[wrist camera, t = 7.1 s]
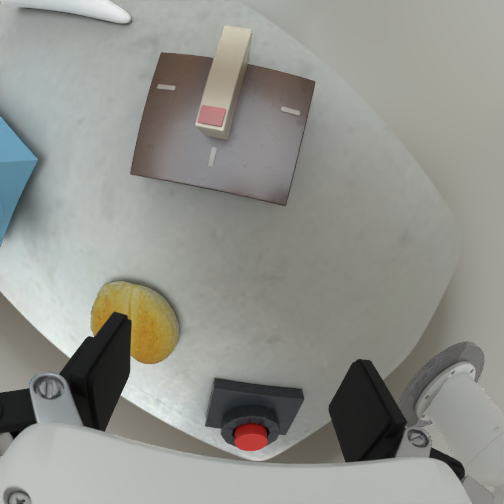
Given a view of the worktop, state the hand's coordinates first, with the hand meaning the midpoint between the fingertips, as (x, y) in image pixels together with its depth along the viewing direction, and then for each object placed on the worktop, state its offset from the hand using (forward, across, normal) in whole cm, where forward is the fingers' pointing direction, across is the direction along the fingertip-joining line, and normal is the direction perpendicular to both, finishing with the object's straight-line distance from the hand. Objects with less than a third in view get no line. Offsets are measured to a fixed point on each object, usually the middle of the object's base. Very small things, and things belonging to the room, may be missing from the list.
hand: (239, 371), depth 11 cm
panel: (+15, +4, -12) cm, 19 cm away
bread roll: (+15, +9, +9) cm, 20 cm away
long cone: (+15, +25, -22) cm, 37 cm away
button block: (+15, -6, +17) cm, 24 cm away
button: (+12, -6, +19) cm, 23 cm away
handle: (+12, +4, -12) cm, 18 cm away
